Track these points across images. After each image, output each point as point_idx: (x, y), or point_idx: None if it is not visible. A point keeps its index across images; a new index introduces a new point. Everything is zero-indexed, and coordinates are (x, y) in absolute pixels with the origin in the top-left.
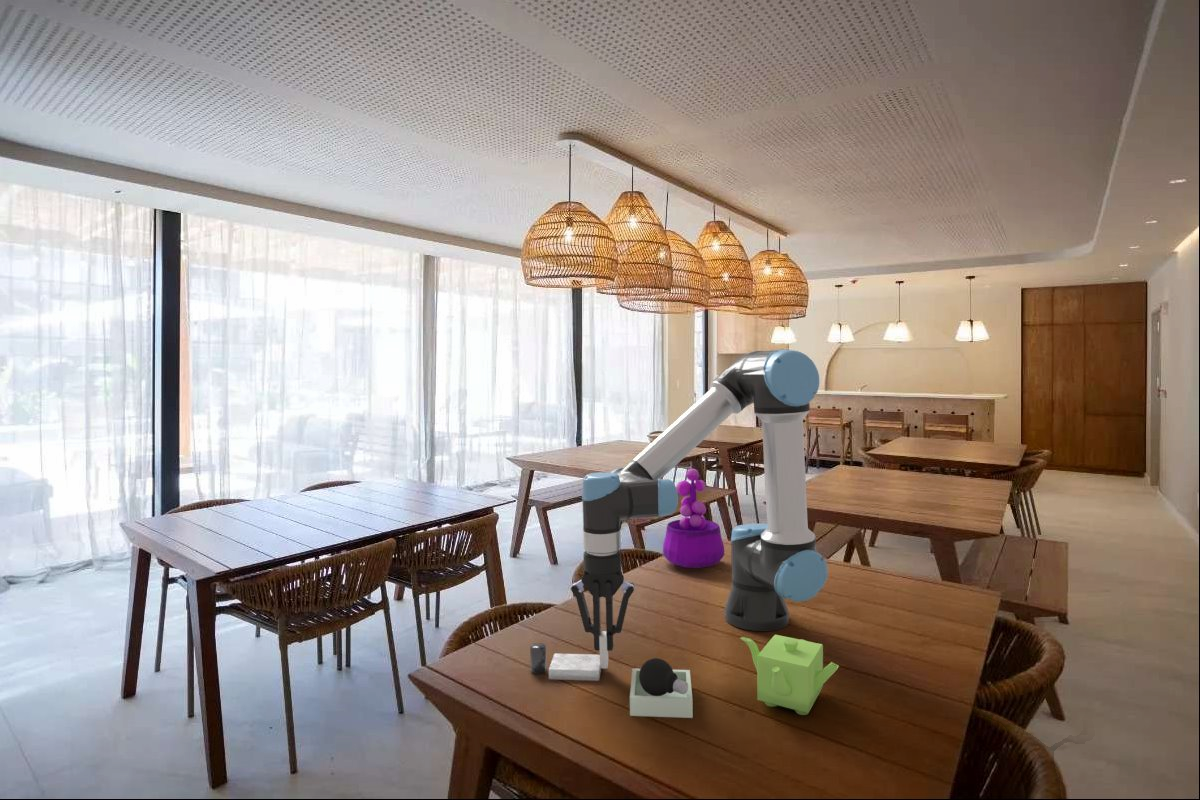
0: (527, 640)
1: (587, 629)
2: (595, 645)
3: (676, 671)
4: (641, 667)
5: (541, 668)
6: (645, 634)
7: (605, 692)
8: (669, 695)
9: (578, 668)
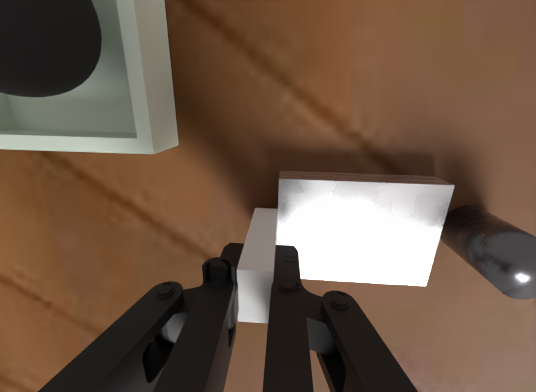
0: (479, 376)
1: (340, 301)
2: (293, 257)
3: (1, 135)
4: (36, 5)
5: (465, 215)
6: None
7: (254, 97)
8: None
9: (348, 191)
